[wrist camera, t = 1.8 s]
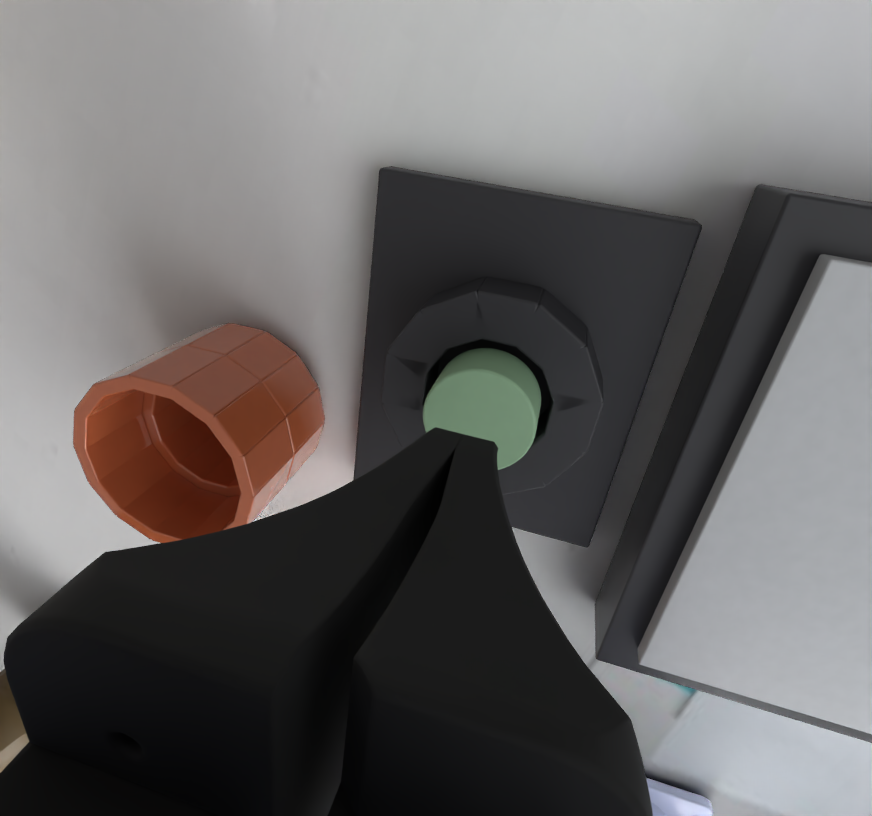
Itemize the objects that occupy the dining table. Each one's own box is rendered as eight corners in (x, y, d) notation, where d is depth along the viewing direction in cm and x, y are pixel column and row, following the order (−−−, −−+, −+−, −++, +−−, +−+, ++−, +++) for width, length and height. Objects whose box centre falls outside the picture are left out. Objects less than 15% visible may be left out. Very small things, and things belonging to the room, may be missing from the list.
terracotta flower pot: (328, 477, 20) (255, 572, 16) (192, 441, 21) (88, 521, 16) (336, 339, 17) (251, 406, 13) (181, 303, 18) (54, 355, 14)
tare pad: (588, 531, 18) (588, 584, 16) (361, 470, 19) (333, 512, 17) (697, 219, 14) (717, 235, 11) (389, 165, 15) (354, 171, 13)
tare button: (528, 453, 15) (522, 484, 14) (430, 429, 16) (415, 456, 14) (552, 360, 14) (548, 384, 12) (445, 336, 14) (430, 357, 13)
